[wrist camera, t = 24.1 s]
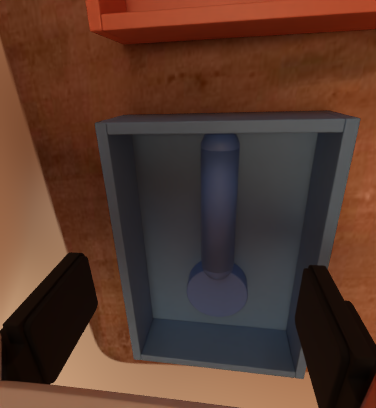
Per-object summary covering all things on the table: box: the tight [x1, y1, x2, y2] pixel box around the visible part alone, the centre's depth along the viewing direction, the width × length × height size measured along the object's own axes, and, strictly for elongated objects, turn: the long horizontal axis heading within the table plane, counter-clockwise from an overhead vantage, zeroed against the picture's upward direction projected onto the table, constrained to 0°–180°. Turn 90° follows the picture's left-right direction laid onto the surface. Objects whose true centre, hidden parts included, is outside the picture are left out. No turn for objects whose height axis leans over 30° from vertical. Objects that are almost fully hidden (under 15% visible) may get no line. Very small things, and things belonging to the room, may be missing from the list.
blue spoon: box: [187, 134, 248, 317], centre depth 17 cm, size 14×4×2 cm, turn 1°
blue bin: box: [95, 111, 360, 379], centre depth 17 cm, size 12×17×4 cm
